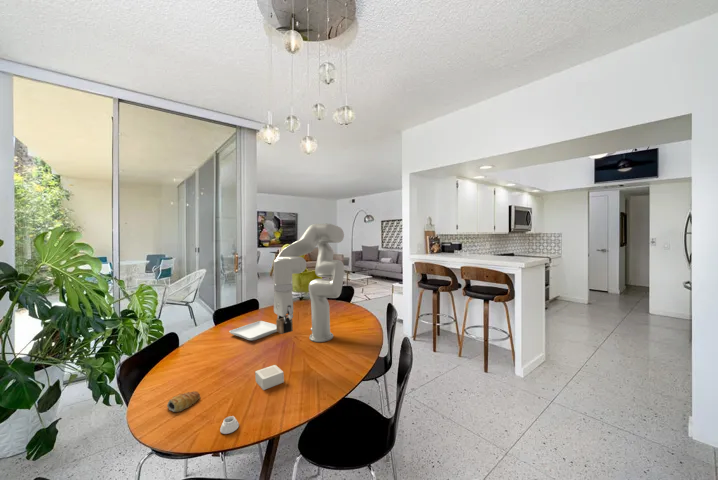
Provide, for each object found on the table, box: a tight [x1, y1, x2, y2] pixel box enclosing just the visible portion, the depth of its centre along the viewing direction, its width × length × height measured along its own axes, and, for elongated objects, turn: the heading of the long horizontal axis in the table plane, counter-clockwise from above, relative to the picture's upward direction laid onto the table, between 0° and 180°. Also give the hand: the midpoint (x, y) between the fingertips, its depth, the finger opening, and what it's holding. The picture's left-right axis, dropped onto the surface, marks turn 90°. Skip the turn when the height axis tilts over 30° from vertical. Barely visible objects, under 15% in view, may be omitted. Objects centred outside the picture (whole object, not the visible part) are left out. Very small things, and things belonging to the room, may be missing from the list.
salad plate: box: [228, 320, 277, 341], centre depth 161 cm, size 21×21×3 cm
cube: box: [275, 316, 294, 335], centre depth 121 cm, size 5×5×5 cm
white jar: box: [219, 415, 240, 435], centre depth 85 cm, size 5×3×5 cm
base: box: [254, 364, 285, 391], centre depth 110 cm, size 8×8×4 cm
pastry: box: [166, 390, 201, 413], centre depth 97 cm, size 9×7×4 cm
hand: (284, 329), depth 121 cm, fingers closed on cube, 5 cm apart
